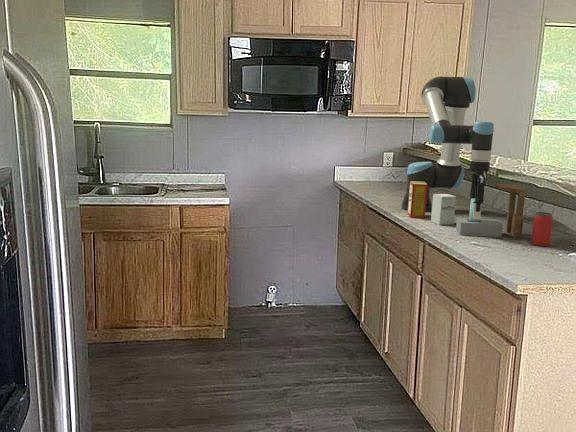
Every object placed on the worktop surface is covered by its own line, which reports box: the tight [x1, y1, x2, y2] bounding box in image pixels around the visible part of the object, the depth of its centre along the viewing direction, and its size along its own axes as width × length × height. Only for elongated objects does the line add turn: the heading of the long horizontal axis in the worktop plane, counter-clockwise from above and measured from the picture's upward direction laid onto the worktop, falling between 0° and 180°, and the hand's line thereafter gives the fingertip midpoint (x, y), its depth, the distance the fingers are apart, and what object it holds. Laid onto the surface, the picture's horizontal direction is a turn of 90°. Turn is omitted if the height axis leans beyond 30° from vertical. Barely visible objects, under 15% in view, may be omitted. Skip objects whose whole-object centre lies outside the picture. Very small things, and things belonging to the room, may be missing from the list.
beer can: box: [530, 211, 554, 247], centre depth 209 cm, size 7×7×12 cm
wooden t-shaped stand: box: [493, 182, 528, 240], centre depth 223 cm, size 14×9×20 cm, turn 173°
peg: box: [469, 198, 480, 222], centre depth 225 cm, size 4×4×14 cm
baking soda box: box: [407, 181, 428, 219], centre depth 257 cm, size 10×6×16 cm
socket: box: [455, 217, 504, 238], centre depth 226 cm, size 10×16×5 cm, turn 82°
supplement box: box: [430, 193, 457, 226], centre depth 243 cm, size 7×7×13 cm
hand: (474, 217), depth 225 cm, fingers open, 7 cm apart
